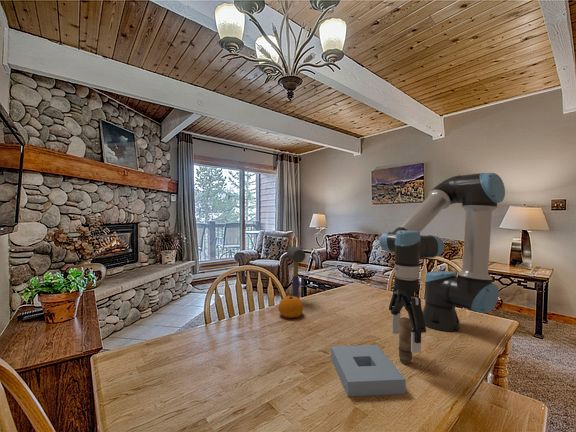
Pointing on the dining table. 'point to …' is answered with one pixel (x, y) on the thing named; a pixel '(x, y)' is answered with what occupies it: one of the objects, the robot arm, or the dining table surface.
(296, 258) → the rubber mallet
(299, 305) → the fruit
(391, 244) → the robot arm
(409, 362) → the peg
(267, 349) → the dining table surface
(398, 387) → the seat board
